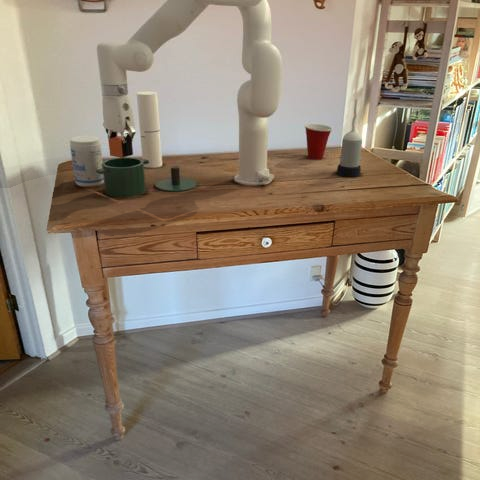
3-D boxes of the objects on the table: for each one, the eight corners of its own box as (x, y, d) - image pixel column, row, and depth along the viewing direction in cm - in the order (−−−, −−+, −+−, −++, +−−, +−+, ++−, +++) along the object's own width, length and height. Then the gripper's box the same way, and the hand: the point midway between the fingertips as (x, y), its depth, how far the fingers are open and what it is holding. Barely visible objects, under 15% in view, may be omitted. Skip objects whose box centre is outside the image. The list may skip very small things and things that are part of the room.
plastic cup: (331, 161, 202) (334, 128, 195) (303, 161, 202) (306, 128, 195) (328, 154, 211) (331, 123, 205) (301, 154, 211) (303, 122, 205)
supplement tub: (69, 185, 173) (62, 140, 165) (87, 178, 180) (80, 134, 173) (94, 189, 170) (88, 142, 162) (111, 181, 177) (105, 136, 170)
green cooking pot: (160, 190, 169) (158, 161, 164) (113, 203, 158) (109, 172, 153) (137, 182, 177) (134, 153, 172) (90, 194, 166) (86, 164, 161)
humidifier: (337, 170, 191) (344, 96, 178) (360, 171, 190) (369, 97, 177) (336, 176, 184) (344, 100, 171) (359, 177, 183) (369, 101, 170)
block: (133, 154, 162) (131, 137, 160) (122, 157, 158) (120, 140, 156) (120, 152, 164) (119, 135, 162) (110, 155, 160) (108, 138, 158)
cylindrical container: (158, 168, 192) (153, 95, 179) (140, 167, 193) (133, 94, 180) (164, 163, 198) (160, 91, 185) (146, 162, 199) (141, 91, 186)
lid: (205, 187, 173) (204, 167, 169) (173, 196, 164) (172, 175, 161) (178, 178, 181) (177, 159, 177) (147, 187, 172) (145, 167, 169)
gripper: (143, 92, 149) (148, 156, 158) (109, 86, 159) (115, 146, 169) (121, 95, 144) (127, 161, 154) (87, 88, 155) (95, 150, 164)
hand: (121, 153), depth 161 cm, fingers closed on block, 6 cm apart
